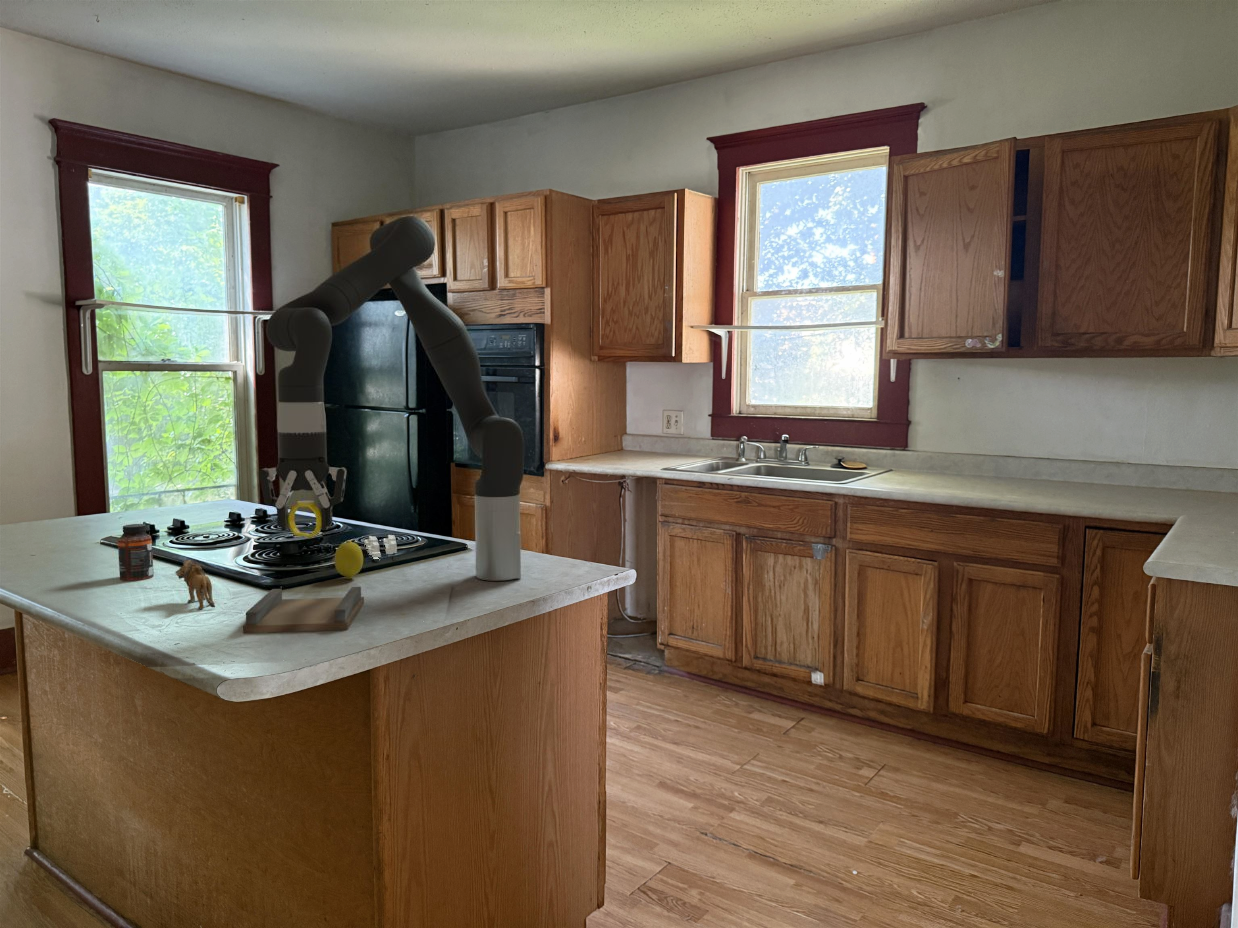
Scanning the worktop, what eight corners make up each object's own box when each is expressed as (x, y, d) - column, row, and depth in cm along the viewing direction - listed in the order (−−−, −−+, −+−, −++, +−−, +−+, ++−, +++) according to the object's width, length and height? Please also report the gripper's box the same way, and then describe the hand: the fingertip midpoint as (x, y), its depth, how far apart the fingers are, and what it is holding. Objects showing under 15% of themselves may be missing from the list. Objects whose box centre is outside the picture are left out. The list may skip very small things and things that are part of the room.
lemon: (355, 582, 169) (354, 543, 168) (329, 581, 170) (328, 542, 169) (368, 576, 174) (367, 538, 173) (343, 575, 175) (343, 537, 175)
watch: (285, 536, 142) (283, 501, 141) (295, 534, 144) (294, 499, 144) (315, 538, 140) (314, 503, 139) (326, 536, 142) (325, 500, 142)
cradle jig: (364, 603, 153) (363, 585, 152) (347, 629, 136) (347, 610, 136) (271, 606, 150) (270, 588, 150) (242, 633, 134) (242, 613, 133)
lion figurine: (174, 600, 154) (172, 561, 154) (198, 596, 158) (197, 557, 157) (202, 611, 146) (201, 570, 146) (227, 607, 150) (226, 566, 149)
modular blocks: (364, 552, 203) (364, 536, 202) (394, 550, 205) (393, 534, 205) (373, 569, 184) (372, 551, 184) (405, 566, 187) (405, 548, 187)
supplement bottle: (160, 579, 171) (158, 523, 170) (132, 585, 166) (130, 528, 165) (140, 576, 174) (138, 521, 173) (113, 582, 169) (110, 526, 168)
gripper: (350, 428, 145) (353, 525, 147) (263, 428, 143) (266, 526, 145) (342, 430, 138) (345, 532, 139) (250, 430, 136) (253, 534, 137)
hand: (305, 529), depth 142 cm, fingers closed on watch, 6 cm apart
